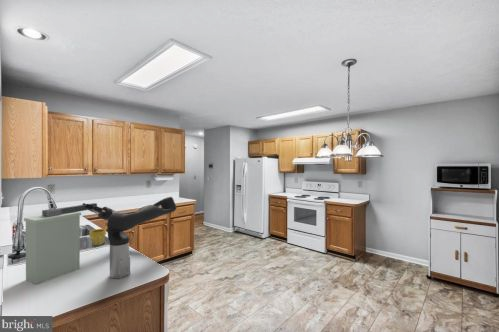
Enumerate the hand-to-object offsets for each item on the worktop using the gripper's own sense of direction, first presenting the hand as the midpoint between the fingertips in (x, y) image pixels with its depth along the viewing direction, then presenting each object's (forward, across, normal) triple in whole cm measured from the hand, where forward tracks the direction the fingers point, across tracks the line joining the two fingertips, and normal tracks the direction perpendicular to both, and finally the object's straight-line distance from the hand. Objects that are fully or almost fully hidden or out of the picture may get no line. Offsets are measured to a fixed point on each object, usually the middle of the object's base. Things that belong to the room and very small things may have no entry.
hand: (84, 205), depth 142 cm
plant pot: (-39, +26, -18) cm, 50 cm away
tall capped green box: (-4, 0, -38) cm, 38 cm away
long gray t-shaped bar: (+4, 0, -6) cm, 7 cm away
